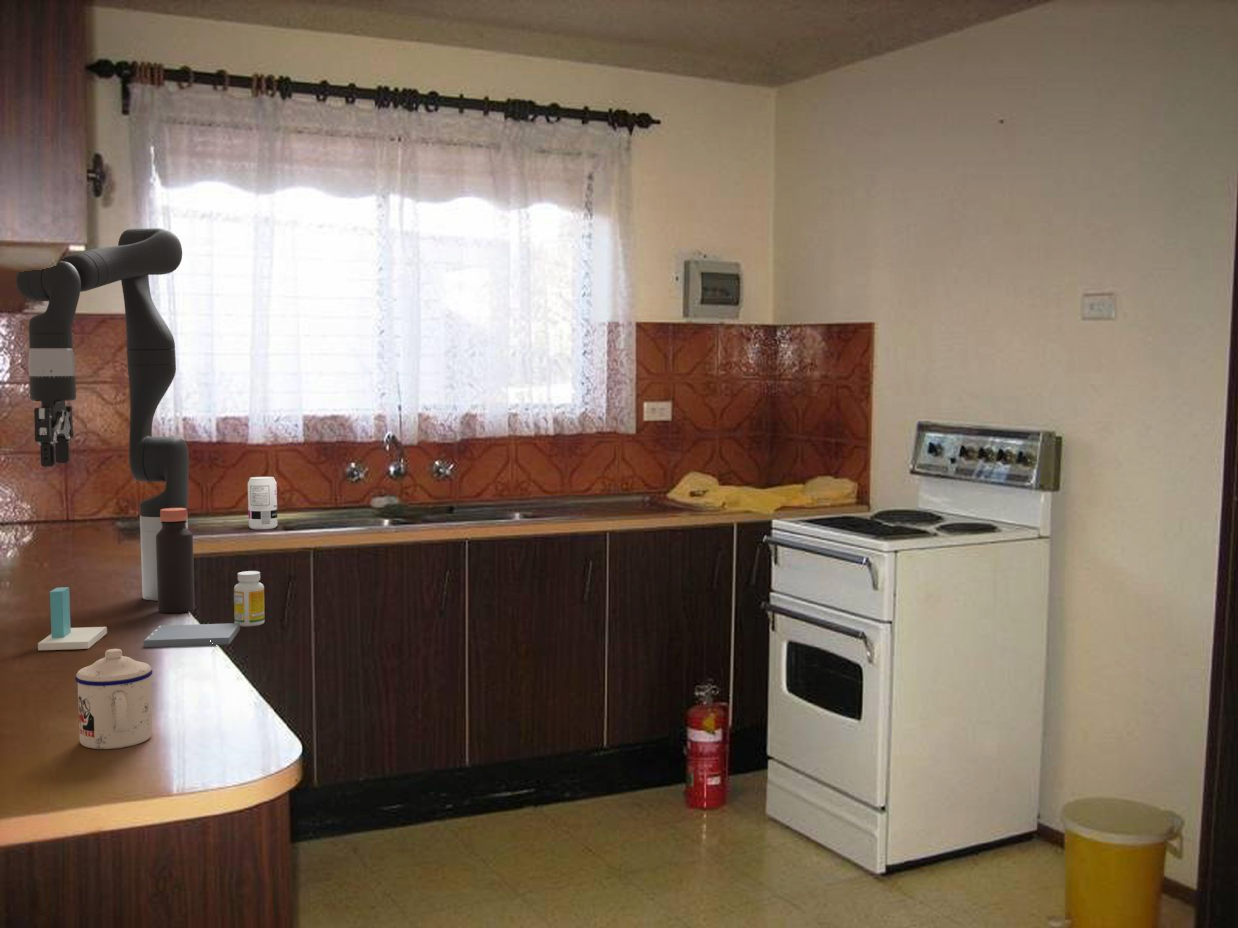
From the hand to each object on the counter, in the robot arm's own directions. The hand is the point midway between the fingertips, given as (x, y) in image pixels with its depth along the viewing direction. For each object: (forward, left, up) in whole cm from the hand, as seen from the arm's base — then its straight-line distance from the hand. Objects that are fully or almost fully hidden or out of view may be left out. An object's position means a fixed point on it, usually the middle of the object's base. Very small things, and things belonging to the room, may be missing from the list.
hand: (55, 464), depth 220 cm
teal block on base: (+11, +5, -30) cm, 32 cm away
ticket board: (+11, +25, -30) cm, 41 cm away
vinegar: (-15, +17, -30) cm, 38 cm away
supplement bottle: (0, +33, -30) cm, 45 cm away
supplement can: (-140, +17, -30) cm, 144 cm away
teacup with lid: (+72, +27, -30) cm, 83 cm away
